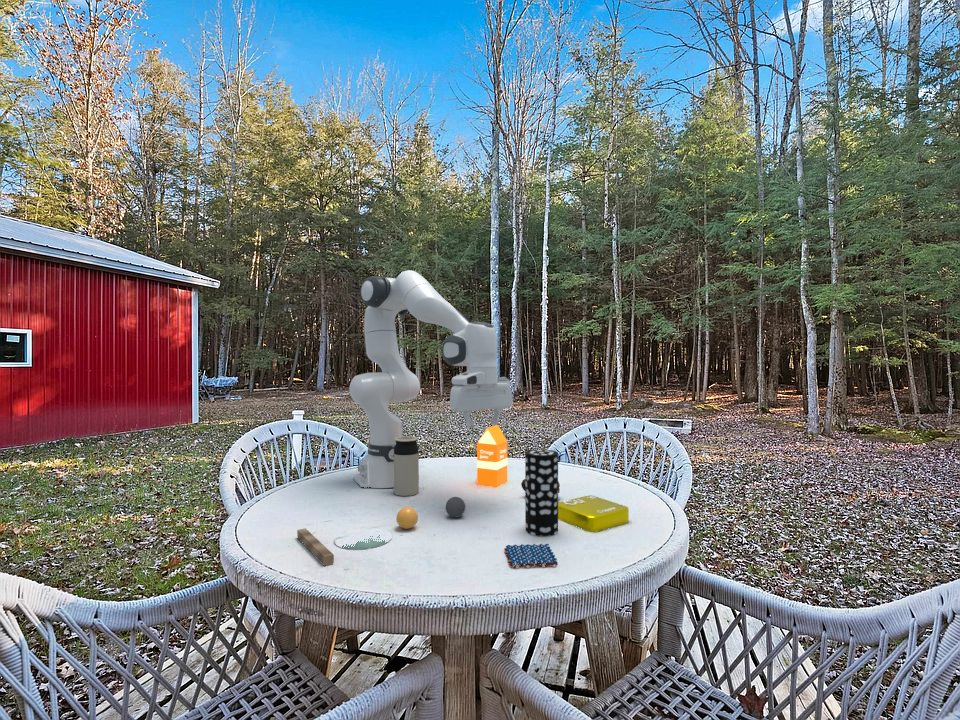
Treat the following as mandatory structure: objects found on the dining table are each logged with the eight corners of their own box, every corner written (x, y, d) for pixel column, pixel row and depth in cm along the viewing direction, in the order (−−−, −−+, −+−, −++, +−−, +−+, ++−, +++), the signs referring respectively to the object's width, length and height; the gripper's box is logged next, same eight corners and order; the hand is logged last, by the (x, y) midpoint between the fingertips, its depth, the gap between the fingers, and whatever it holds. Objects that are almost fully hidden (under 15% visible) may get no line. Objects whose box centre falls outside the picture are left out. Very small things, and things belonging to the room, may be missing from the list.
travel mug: (416, 496, 156) (416, 440, 156) (391, 496, 156) (391, 440, 156) (420, 489, 164) (420, 436, 164) (396, 489, 164) (396, 436, 164)
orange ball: (392, 527, 129) (392, 506, 128) (411, 523, 132) (411, 502, 132) (402, 533, 124) (402, 511, 124) (421, 529, 127) (421, 507, 127)
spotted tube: (536, 522, 132) (536, 448, 132) (564, 529, 127) (564, 452, 126) (519, 531, 126) (518, 453, 125) (547, 539, 120) (547, 457, 120)
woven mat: (503, 552, 114) (503, 543, 114) (548, 550, 115) (548, 542, 115) (508, 572, 103) (508, 562, 103) (558, 570, 104) (558, 560, 104)
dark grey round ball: (441, 516, 137) (441, 496, 137) (458, 512, 141) (458, 493, 141) (452, 521, 133) (452, 501, 133) (469, 517, 136) (469, 497, 136)
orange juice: (476, 484, 170) (476, 427, 170) (488, 479, 178) (488, 424, 178) (497, 487, 167) (497, 428, 166) (507, 481, 174) (507, 425, 174)
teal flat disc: (325, 536, 122) (325, 535, 122) (377, 524, 131) (377, 523, 131) (346, 554, 111) (346, 553, 111) (402, 540, 119) (402, 539, 119)
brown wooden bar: (297, 538, 121) (297, 530, 121) (305, 536, 122) (305, 528, 122) (324, 566, 105) (324, 556, 105) (333, 563, 106) (333, 554, 106)
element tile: (592, 535, 124) (592, 516, 124) (552, 518, 137) (552, 501, 137) (631, 523, 132) (631, 505, 132) (590, 509, 145) (590, 492, 145)
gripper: (503, 376, 151) (503, 421, 151) (446, 378, 139) (447, 427, 139) (516, 376, 146) (517, 423, 146) (459, 379, 134) (459, 430, 134)
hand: (482, 425), depth 142 cm, fingers open, 7 cm apart
